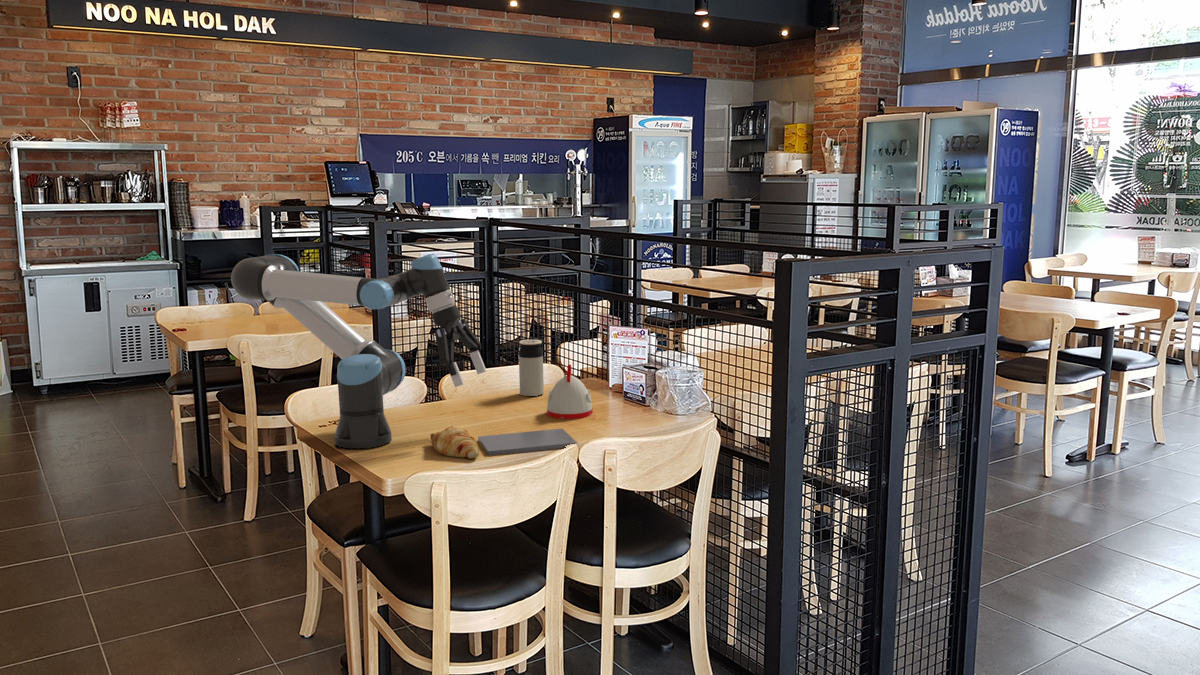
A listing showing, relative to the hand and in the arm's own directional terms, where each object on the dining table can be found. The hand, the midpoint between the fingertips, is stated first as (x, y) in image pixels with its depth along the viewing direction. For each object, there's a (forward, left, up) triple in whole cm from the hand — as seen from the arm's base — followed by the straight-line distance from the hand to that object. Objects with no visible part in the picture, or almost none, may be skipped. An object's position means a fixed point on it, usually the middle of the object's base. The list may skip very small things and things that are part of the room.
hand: (471, 379), depth 257 cm
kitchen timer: (+32, +12, -16) cm, 37 cm away
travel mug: (+27, +41, -16) cm, 51 cm away
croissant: (-8, -17, -16) cm, 25 cm away
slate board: (+12, -16, -15) cm, 25 cm away
